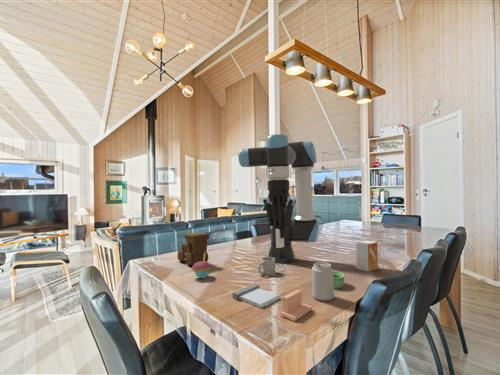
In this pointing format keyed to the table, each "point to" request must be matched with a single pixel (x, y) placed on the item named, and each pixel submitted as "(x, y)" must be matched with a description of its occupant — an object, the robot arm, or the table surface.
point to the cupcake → (201, 268)
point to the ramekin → (338, 279)
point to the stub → (294, 306)
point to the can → (322, 281)
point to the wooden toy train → (194, 248)
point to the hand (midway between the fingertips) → (280, 247)
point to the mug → (267, 266)
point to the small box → (366, 255)
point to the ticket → (256, 295)
